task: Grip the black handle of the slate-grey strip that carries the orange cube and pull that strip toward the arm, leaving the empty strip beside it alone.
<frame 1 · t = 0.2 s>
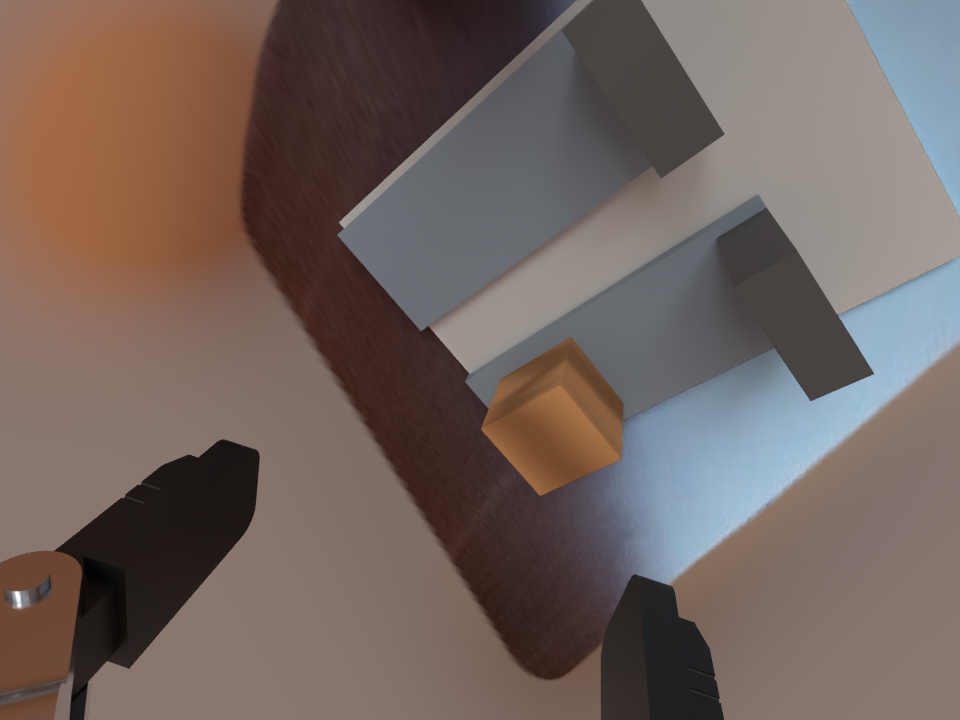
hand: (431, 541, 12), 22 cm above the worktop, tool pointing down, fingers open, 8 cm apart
lane board: (620, 227, 30), on the worktop
strip empty: (490, 198, 26), point 5 cm above the worktop, slide at 0.0 cm
cube: (561, 390, 33), point 2 cm above the worktop, touching strip with cube
strip with cube: (628, 378, 28), point 5 cm above the worktop, slide at 0.0 cm, touching cube
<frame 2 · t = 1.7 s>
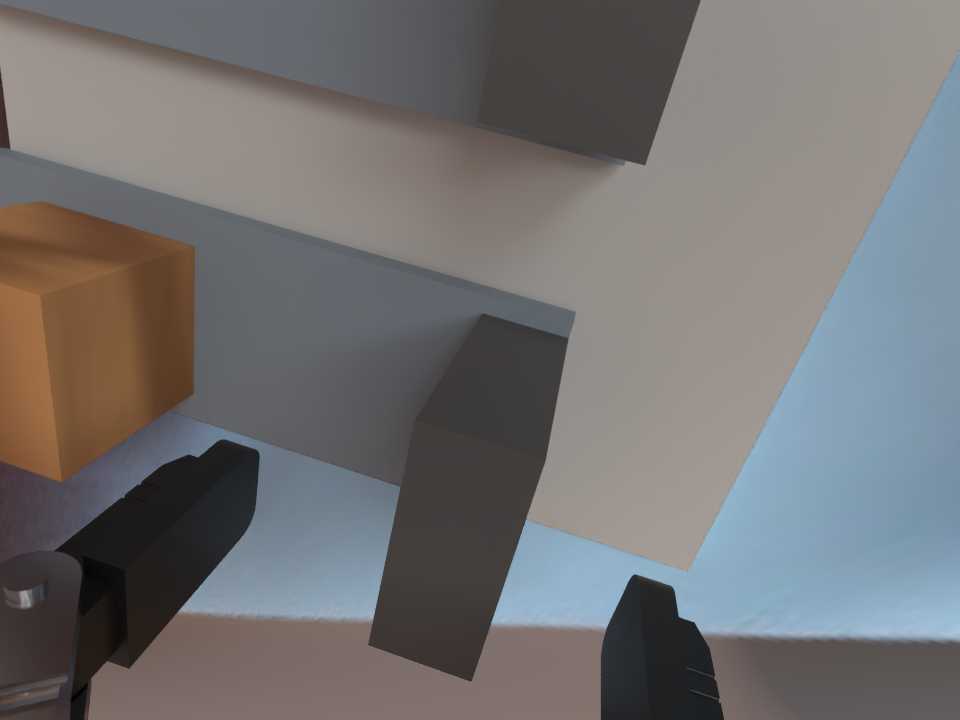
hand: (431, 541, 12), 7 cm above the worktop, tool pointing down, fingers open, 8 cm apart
lane board: (397, 178, 17), on the worktop
cube: (121, 301, 18), point 2 cm above the worktop, touching strip with cube
strip with cube: (198, 378, 15), point 5 cm above the worktop, slide at 0.0 cm, touching cube
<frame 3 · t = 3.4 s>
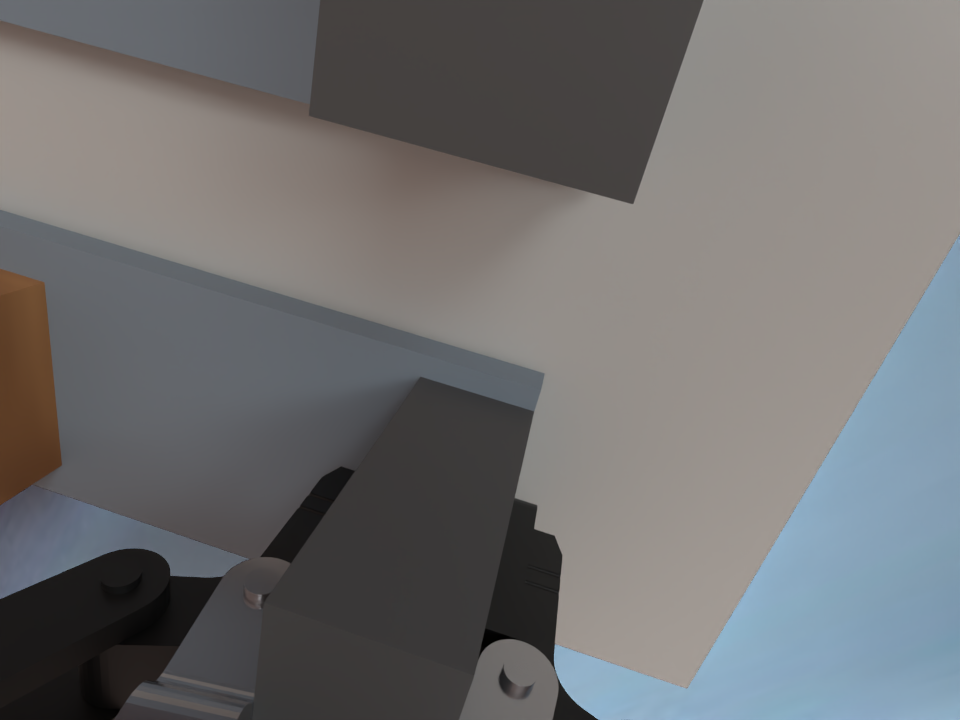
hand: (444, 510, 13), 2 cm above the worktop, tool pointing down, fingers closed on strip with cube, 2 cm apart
lane board: (312, 194, 13), on the worktop
strip with cube: (30, 466, 11), point 5 cm above the worktop, slide at 0.0 cm, touching cube, gripper
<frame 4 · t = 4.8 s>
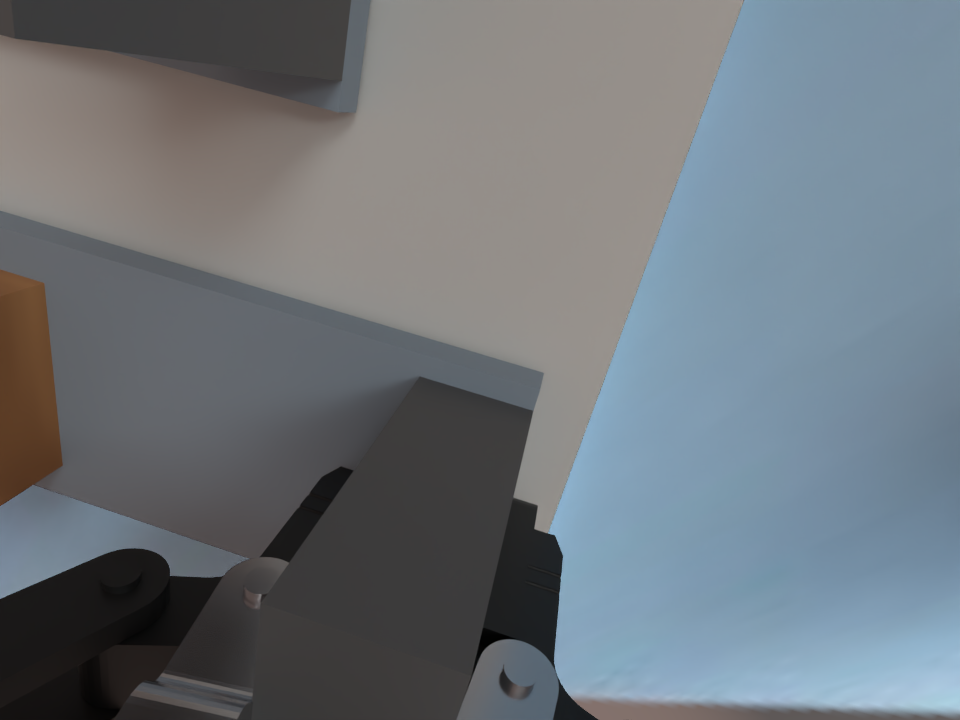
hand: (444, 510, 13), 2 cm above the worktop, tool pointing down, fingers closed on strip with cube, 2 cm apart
lane board: (118, 139, 13), on the worktop
strip with cube: (30, 467, 11), point 5 cm above the worktop, slide at 4.8 cm, touching cube, gripper
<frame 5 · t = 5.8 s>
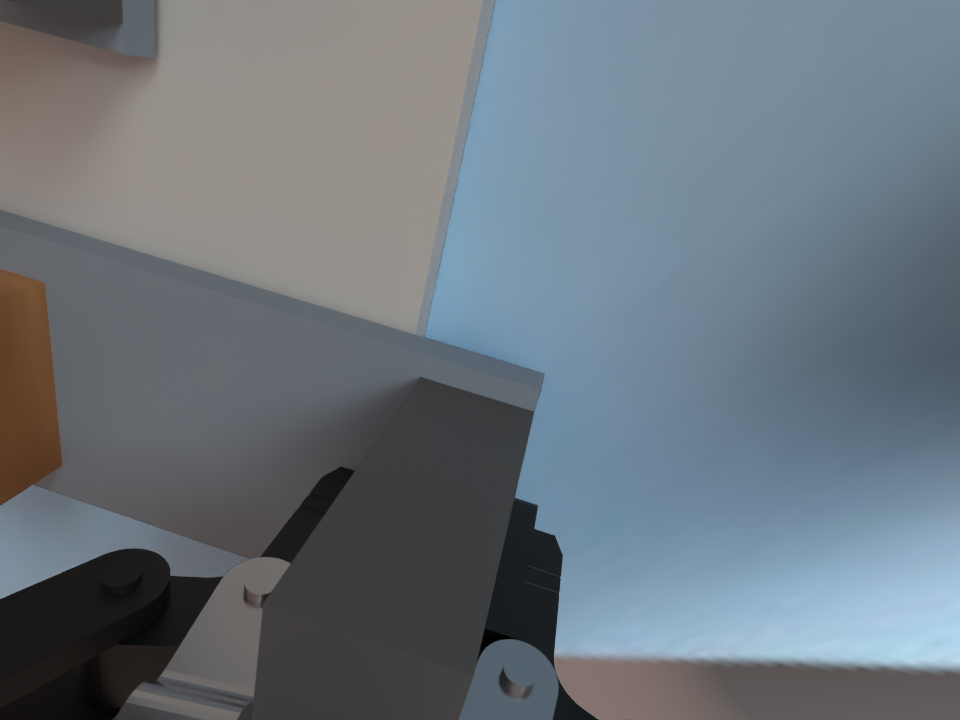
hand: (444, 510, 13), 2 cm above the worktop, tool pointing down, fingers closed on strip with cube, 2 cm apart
strip with cube: (31, 467, 11), point 5 cm above the worktop, slide at 8.9 cm, touching cube, gripper
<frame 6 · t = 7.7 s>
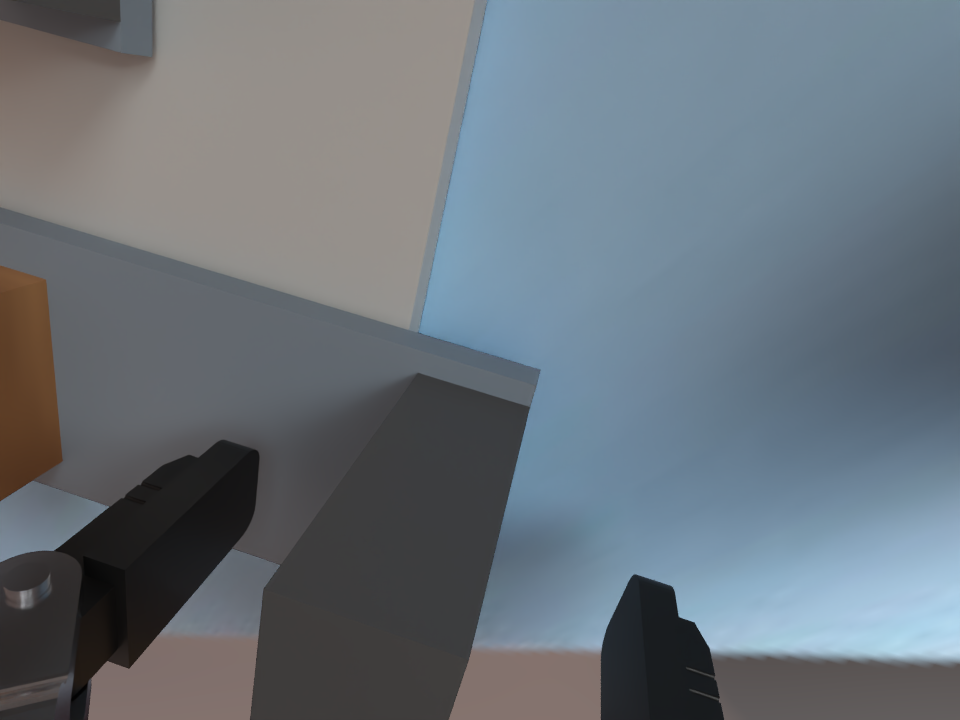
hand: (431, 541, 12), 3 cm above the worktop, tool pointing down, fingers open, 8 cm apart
strip with cube: (32, 461, 11), point 5 cm above the worktop, slide at 9.0 cm, touching cube
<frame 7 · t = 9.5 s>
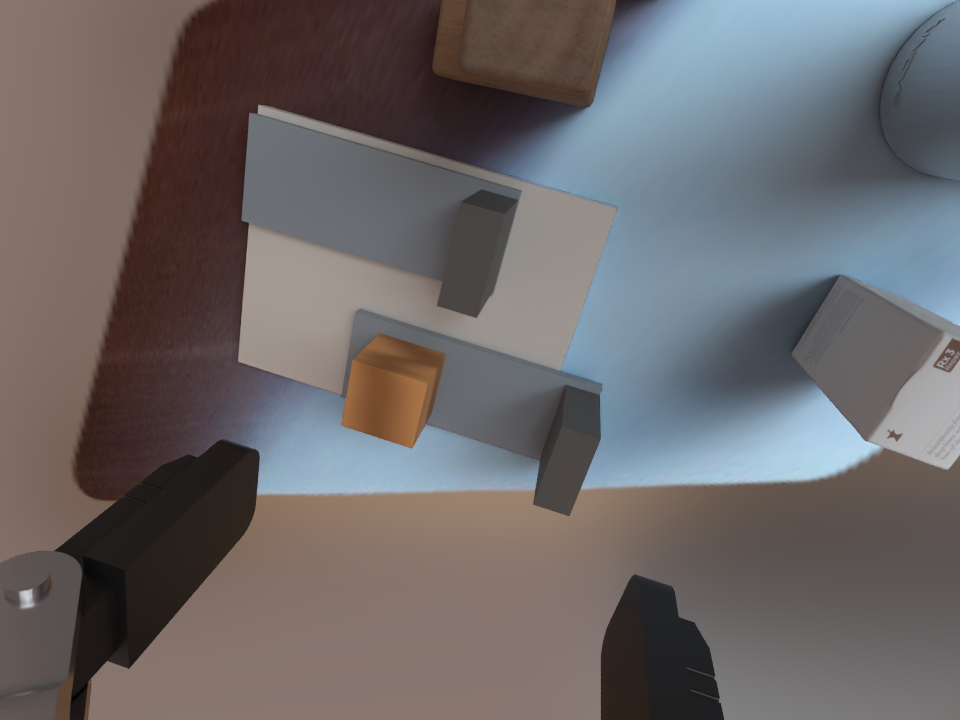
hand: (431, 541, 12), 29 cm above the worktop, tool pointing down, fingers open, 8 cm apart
skincare box: (841, 321, 37), on the worktop
lane board: (409, 290, 41), on the worktop
strip empty: (358, 212, 35), point 5 cm above the worktop, slide at 0.0 cm
cube: (406, 374, 42), point 2 cm above the worktop, touching strip with cube
strip with cube: (457, 409, 39), point 5 cm above the worktop, slide at 9.0 cm, touching cube
wooden block: (527, 53, 34), on the worktop
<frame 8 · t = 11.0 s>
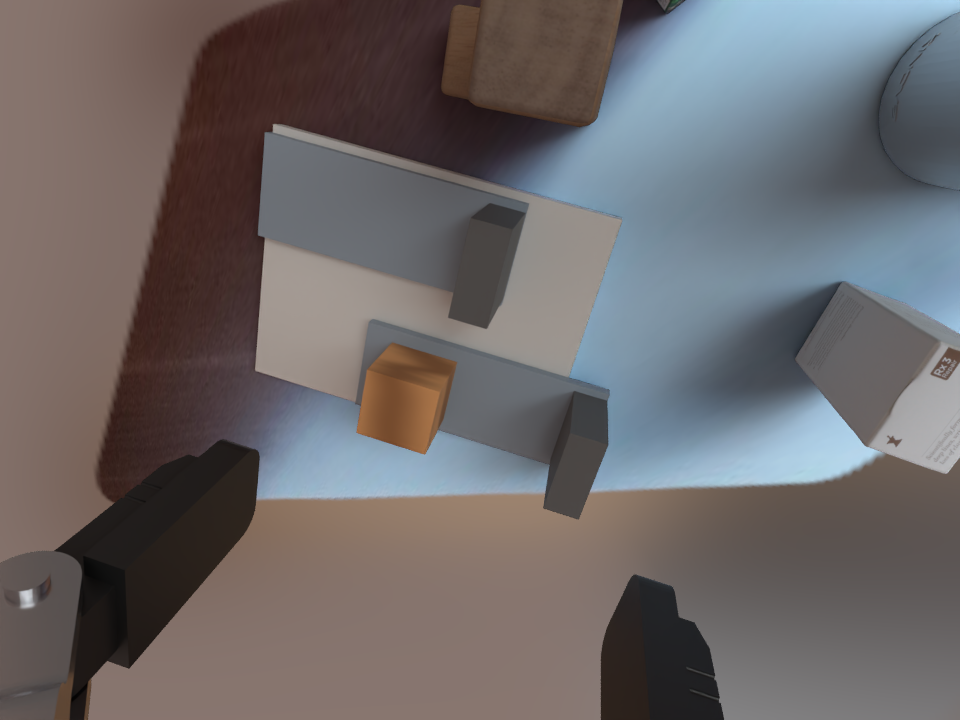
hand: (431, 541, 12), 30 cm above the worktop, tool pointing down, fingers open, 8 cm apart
skincare box: (843, 327, 38), on the worktop
lane board: (420, 300, 42), on the worktop
strip empty: (371, 227, 36), point 5 cm above the worktop, slide at 0.0 cm
cube: (418, 381, 43), point 2 cm above the worktop, touching strip with cube
strip with cube: (468, 416, 40), point 5 cm above the worktop, slide at 9.0 cm, touching cube
wooden block: (533, 70, 35), on the worktop
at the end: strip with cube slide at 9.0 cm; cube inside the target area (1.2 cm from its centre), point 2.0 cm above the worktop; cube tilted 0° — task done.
